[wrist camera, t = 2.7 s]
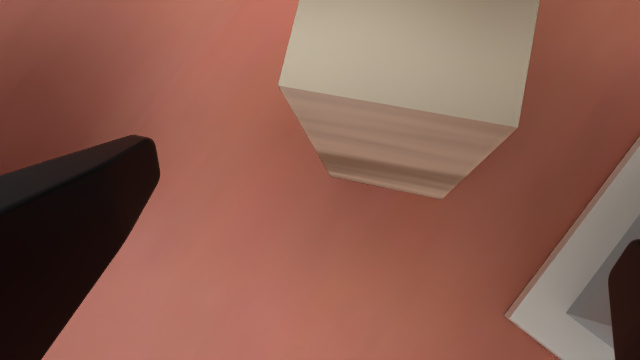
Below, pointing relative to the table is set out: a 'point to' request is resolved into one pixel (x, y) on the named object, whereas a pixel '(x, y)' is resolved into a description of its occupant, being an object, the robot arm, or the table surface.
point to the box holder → (584, 272)
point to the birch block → (408, 86)
